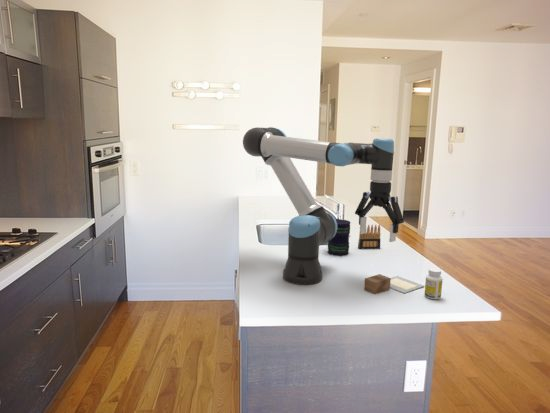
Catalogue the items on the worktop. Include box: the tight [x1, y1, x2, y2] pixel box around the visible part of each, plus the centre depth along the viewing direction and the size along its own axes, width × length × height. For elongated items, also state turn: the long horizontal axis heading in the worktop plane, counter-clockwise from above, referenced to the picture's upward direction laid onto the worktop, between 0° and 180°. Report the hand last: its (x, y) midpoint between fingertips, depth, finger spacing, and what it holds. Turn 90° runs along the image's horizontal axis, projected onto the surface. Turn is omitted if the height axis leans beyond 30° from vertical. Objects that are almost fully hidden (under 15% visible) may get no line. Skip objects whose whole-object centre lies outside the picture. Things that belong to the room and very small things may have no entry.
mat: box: [390, 275, 425, 294], centre depth 154 cm, size 12×12×1 cm
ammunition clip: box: [357, 224, 381, 250], centre depth 200 cm, size 11×2×12 cm, turn 98°
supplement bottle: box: [424, 267, 444, 300], centre depth 143 cm, size 5×5×10 cm
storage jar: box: [327, 218, 351, 257], centre depth 191 cm, size 10×10×15 cm
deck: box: [363, 274, 392, 295], centre depth 149 cm, size 8×5×4 cm, turn 126°
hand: (376, 237), depth 156 cm, fingers open, 13 cm apart
